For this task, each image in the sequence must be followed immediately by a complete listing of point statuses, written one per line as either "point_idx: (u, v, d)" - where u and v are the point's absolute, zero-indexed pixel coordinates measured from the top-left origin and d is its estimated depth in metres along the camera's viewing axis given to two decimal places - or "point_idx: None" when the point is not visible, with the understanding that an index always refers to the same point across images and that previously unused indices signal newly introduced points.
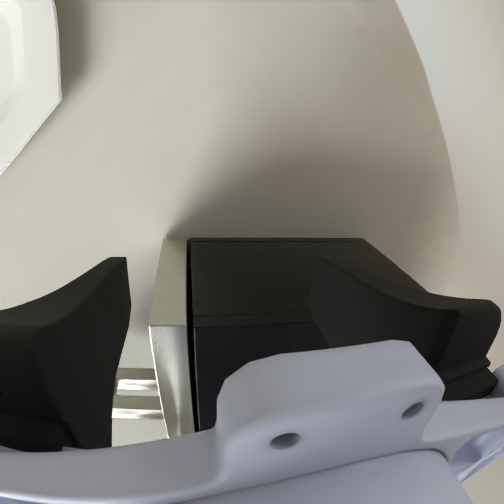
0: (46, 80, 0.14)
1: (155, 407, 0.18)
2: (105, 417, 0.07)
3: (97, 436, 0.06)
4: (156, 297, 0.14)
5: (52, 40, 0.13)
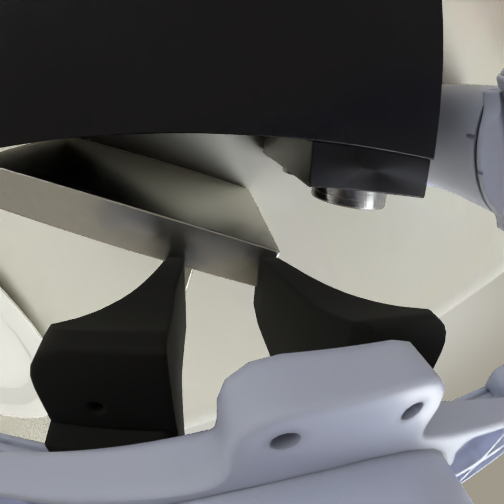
0: None
1: None
2: (182, 419, 0.07)
3: None
4: None
5: None
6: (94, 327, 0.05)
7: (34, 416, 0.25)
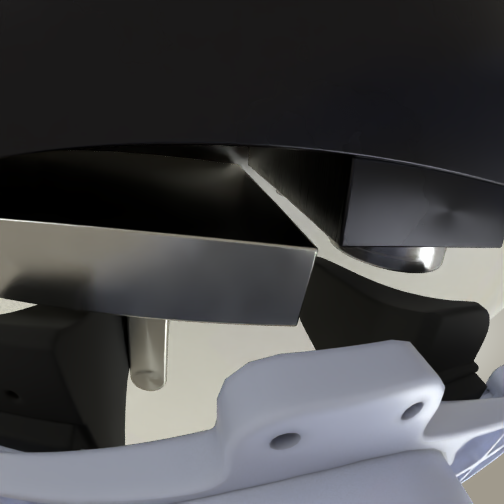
0: None
1: None
2: (119, 418, 0.07)
3: (112, 437, 0.06)
4: None
5: None
6: (10, 321, 0.04)
7: None
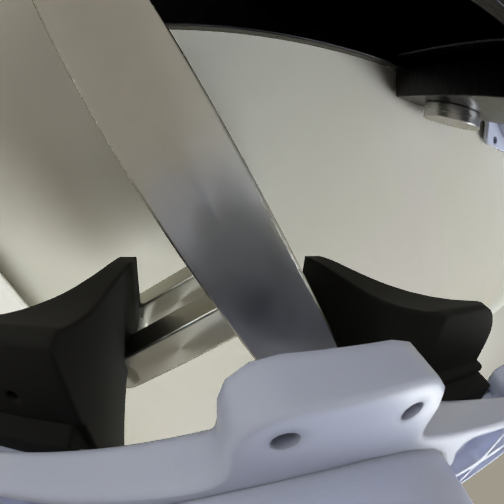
0: None
1: (209, 310, 0.09)
2: (118, 418, 0.07)
3: (111, 437, 0.06)
4: None
5: None
6: (9, 321, 0.04)
7: None
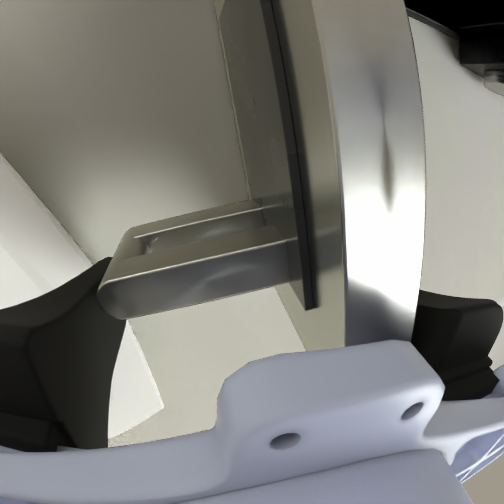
0: None
1: (255, 245, 0.08)
2: (101, 417, 0.07)
3: (93, 436, 0.06)
4: None
5: None
6: None
7: None
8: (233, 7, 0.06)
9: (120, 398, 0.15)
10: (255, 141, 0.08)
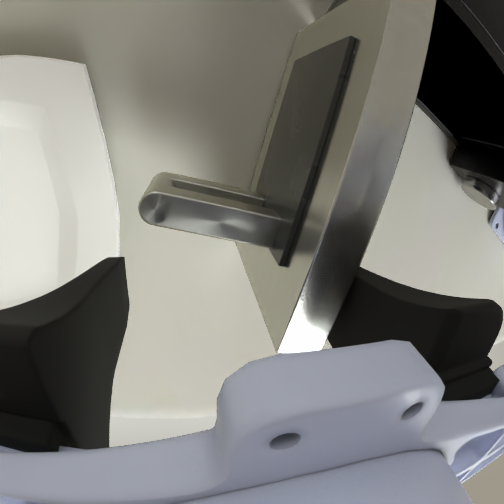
0: (53, 77, 0.11)
1: None
2: (102, 417, 0.07)
3: (94, 436, 0.06)
4: None
5: (18, 61, 0.11)
6: None
7: None
8: (314, 63, 0.11)
9: None
10: (285, 153, 0.12)
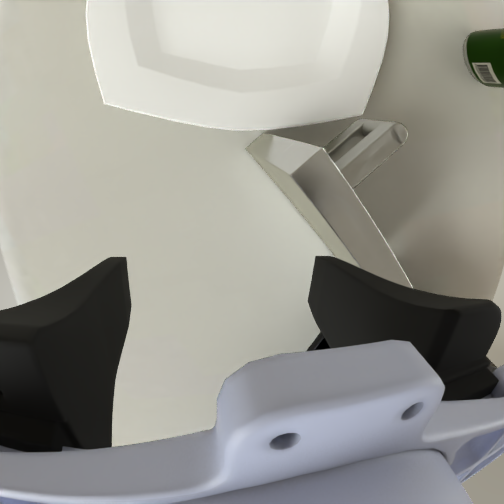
0: (359, 88, 0.17)
1: None
2: (105, 417, 0.07)
3: (97, 436, 0.06)
4: None
5: (378, 60, 0.17)
6: None
7: None
8: None
9: (136, 71, 0.15)
10: None
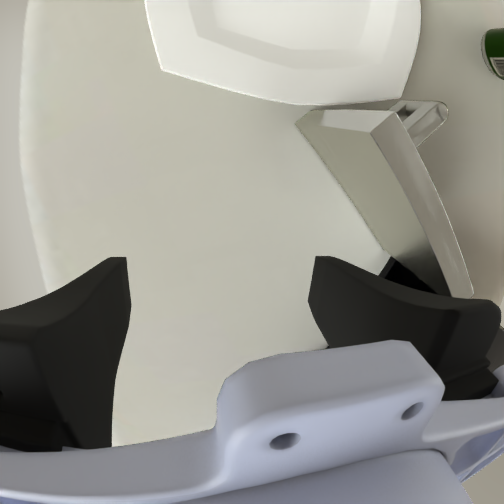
0: (398, 74, 0.18)
1: None
2: (105, 417, 0.07)
3: (97, 436, 0.06)
4: None
5: (413, 50, 0.17)
6: None
7: None
8: None
9: (195, 41, 0.15)
10: None
